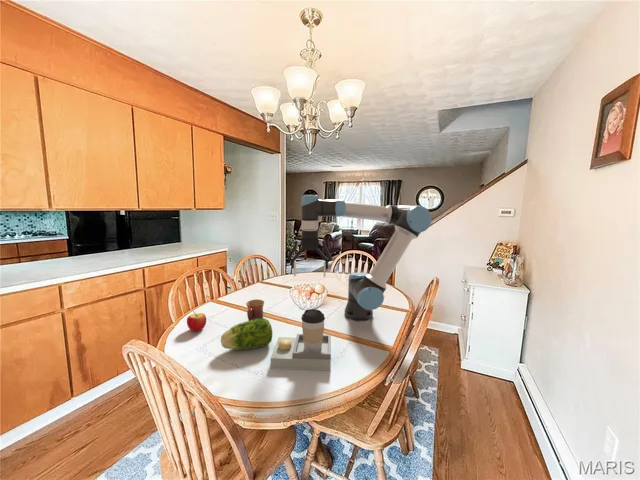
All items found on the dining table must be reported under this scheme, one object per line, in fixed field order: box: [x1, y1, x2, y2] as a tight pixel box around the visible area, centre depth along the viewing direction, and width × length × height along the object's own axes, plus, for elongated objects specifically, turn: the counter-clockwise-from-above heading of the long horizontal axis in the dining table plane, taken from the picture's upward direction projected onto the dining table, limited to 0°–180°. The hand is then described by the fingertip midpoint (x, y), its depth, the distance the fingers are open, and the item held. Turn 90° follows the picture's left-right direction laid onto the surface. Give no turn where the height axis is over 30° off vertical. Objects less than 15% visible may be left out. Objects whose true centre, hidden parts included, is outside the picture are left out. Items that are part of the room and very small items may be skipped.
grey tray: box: [270, 333, 332, 371], centre depth 104 cm, size 22×15×6 cm
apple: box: [186, 311, 207, 332], centre depth 124 cm, size 8×8×10 cm
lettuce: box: [220, 317, 274, 351], centre depth 110 cm, size 12×21×11 cm, turn 117°
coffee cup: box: [300, 308, 326, 352], centre depth 102 cm, size 9×9×15 cm
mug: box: [245, 298, 265, 321], centre depth 131 cm, size 12×9×10 cm
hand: (309, 275), depth 122 cm, fingers open, 13 cm apart
